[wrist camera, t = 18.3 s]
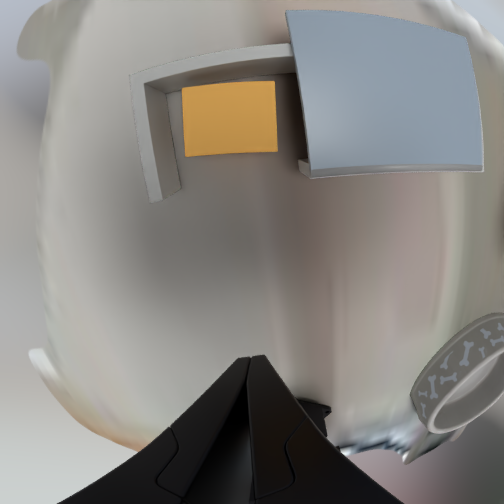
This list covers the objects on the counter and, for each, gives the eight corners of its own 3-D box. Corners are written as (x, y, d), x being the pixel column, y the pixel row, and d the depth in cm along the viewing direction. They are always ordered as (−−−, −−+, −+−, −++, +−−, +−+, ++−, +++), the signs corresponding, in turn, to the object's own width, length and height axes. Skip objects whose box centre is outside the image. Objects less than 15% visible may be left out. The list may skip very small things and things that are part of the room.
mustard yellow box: (273, 150, 18) (277, 151, 14) (197, 154, 18) (185, 157, 14) (271, 92, 16) (274, 81, 13) (194, 97, 16) (181, 87, 13)
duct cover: (477, 170, 13) (482, 172, 13) (309, 177, 14) (312, 178, 14) (461, 38, 10) (466, 37, 9) (284, 14, 10) (285, 10, 10)
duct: (451, 164, 17) (483, 172, 13) (170, 190, 18) (149, 203, 15) (441, 69, 14) (471, 61, 10) (152, 82, 16) (128, 70, 12)
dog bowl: (422, 424, 31) (432, 449, 26) (396, 372, 26) (413, 407, 21) (505, 363, 27) (521, 383, 22) (507, 285, 22) (534, 308, 17)
